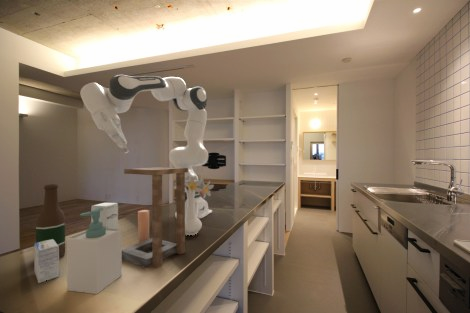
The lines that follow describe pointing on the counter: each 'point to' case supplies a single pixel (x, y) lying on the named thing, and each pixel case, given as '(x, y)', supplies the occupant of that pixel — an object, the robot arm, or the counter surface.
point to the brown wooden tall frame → (159, 221)
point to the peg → (143, 225)
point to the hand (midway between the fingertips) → (124, 149)
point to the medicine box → (46, 260)
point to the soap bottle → (94, 257)
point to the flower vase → (191, 219)
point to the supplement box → (107, 214)
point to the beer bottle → (51, 220)
